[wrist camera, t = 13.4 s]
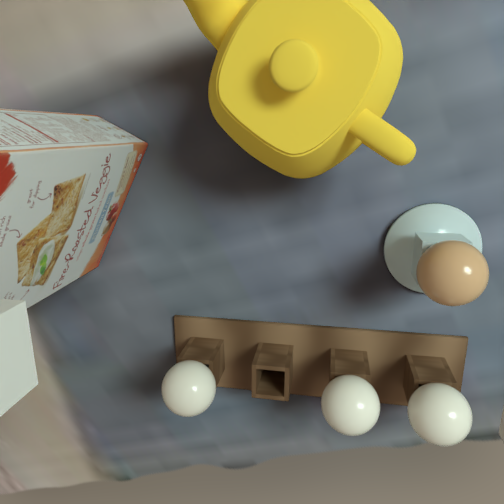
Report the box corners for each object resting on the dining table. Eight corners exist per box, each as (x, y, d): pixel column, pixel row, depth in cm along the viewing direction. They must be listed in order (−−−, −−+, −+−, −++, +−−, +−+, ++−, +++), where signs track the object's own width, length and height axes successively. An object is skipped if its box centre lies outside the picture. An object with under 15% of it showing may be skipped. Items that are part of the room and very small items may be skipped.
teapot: (250, -73, 34) (207, -180, 22) (449, 84, 34) (510, 61, 23) (162, 77, 38) (86, 54, 26) (340, 215, 39) (344, 252, 27)
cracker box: (103, 268, 44) (-82, 379, 25) (52, 240, 45) (-172, 328, 25) (154, 143, 40) (-21, 156, 20) (98, 112, 40) (-131, 95, 20)
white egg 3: (400, 417, 38) (410, 456, 34) (405, 368, 37) (416, 402, 32) (458, 423, 37) (476, 463, 33) (465, 374, 36) (485, 409, 32)
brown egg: (414, 232, 34) (427, 247, 29) (480, 234, 33) (505, 251, 28) (408, 290, 35) (419, 314, 30) (471, 294, 34) (493, 319, 29)
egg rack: (178, 380, 46) (162, 407, 42) (175, 314, 44) (157, 335, 40) (456, 408, 42) (471, 441, 37) (467, 336, 40) (484, 362, 35)
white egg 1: (174, 393, 42) (154, 425, 37) (171, 348, 40) (151, 375, 36) (222, 398, 41) (208, 431, 36) (221, 352, 40) (206, 381, 35)
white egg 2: (320, 408, 39) (319, 445, 35) (322, 361, 38) (321, 393, 34) (374, 414, 39) (380, 452, 34) (379, 366, 37) (385, 399, 33)
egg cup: (380, 288, 40) (386, 309, 35) (387, 201, 38) (395, 212, 33) (473, 293, 38) (493, 316, 34) (486, 204, 36) (509, 215, 32)
